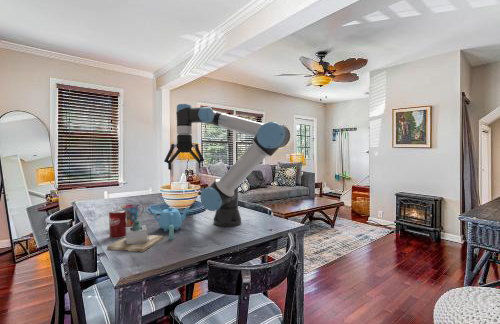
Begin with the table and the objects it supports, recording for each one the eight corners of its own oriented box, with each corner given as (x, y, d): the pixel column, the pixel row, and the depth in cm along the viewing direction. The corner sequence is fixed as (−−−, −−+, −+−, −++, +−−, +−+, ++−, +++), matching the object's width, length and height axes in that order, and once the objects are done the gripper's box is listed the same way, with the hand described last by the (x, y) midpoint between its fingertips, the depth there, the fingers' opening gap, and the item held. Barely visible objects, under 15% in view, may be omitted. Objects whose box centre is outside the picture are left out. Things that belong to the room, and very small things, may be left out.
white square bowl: (145, 235, 121) (145, 224, 121) (147, 241, 114) (147, 229, 114) (125, 238, 117) (125, 227, 117) (126, 244, 110) (126, 232, 110)
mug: (128, 229, 136) (128, 208, 135) (118, 226, 141) (117, 206, 140) (149, 223, 146) (148, 204, 145) (138, 221, 151) (138, 202, 150)
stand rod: (174, 238, 122) (174, 225, 122) (172, 239, 120) (172, 226, 120) (170, 238, 123) (170, 225, 122) (168, 239, 121) (168, 226, 120)
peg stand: (163, 238, 122) (162, 216, 122) (143, 251, 106) (142, 226, 106) (131, 236, 125) (130, 215, 124) (107, 249, 109) (106, 224, 109)
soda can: (115, 240, 120) (114, 213, 119) (106, 237, 124) (105, 211, 123) (130, 235, 126) (129, 210, 126) (121, 233, 130) (120, 208, 129)
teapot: (152, 231, 135) (151, 209, 134) (172, 222, 147) (171, 202, 146) (171, 235, 129) (170, 212, 128) (190, 226, 141) (190, 205, 140)
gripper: (204, 135, 148) (205, 173, 149) (157, 134, 136) (158, 176, 137) (209, 134, 142) (210, 174, 143) (161, 133, 129) (161, 177, 131)
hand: (184, 175), depth 140 cm, fingers open, 13 cm apart
